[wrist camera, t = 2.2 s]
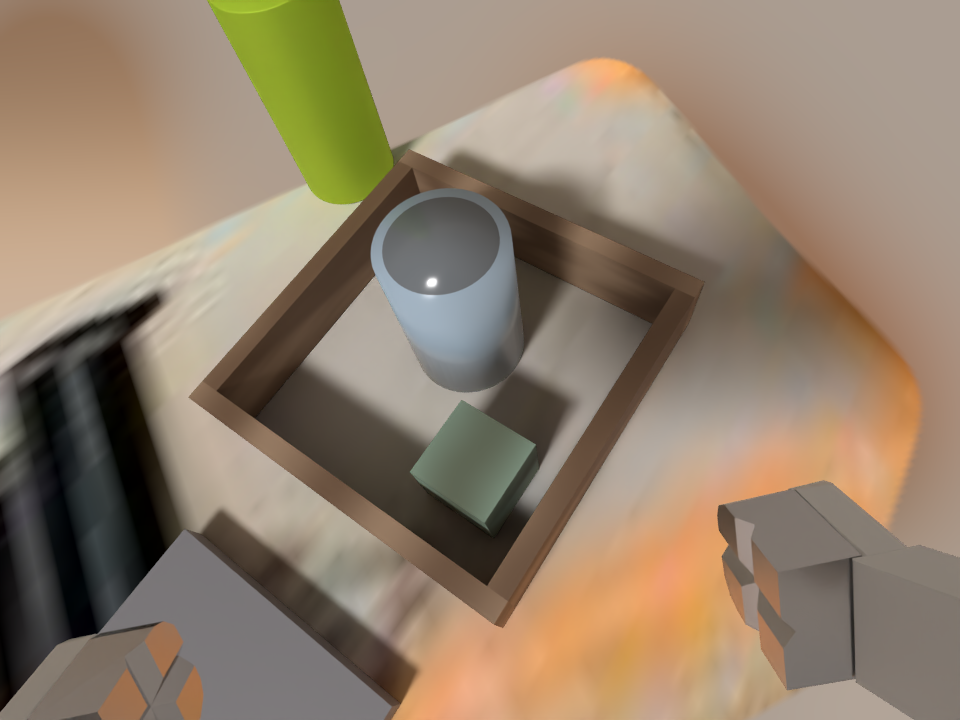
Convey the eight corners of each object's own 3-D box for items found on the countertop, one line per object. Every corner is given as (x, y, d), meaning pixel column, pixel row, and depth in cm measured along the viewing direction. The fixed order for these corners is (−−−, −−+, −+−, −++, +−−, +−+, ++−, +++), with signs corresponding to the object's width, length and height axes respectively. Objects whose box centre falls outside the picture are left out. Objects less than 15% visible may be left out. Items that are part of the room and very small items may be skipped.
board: (65, 701, 28) (39, 704, 26) (201, 534, 30) (184, 528, 29) (261, 922, 23) (243, 938, 22) (400, 703, 26) (391, 706, 25)
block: (428, 493, 30) (409, 472, 26) (473, 428, 31) (461, 399, 28) (494, 538, 29) (484, 522, 25) (539, 469, 30) (535, 444, 26)
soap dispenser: (282, 165, 41) (65, -211, 23) (375, 124, 42) (233, -274, 24) (308, 225, 38) (87, -146, 20) (407, 180, 39) (275, -218, 21)
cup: (395, 358, 33) (342, 266, 25) (457, 279, 35) (426, 169, 27) (484, 412, 31) (457, 330, 23) (545, 325, 33) (539, 221, 25)
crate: (228, 424, 33) (188, 397, 29) (423, 196, 38) (408, 149, 35) (503, 627, 27) (493, 624, 23) (688, 322, 32) (704, 281, 29)
